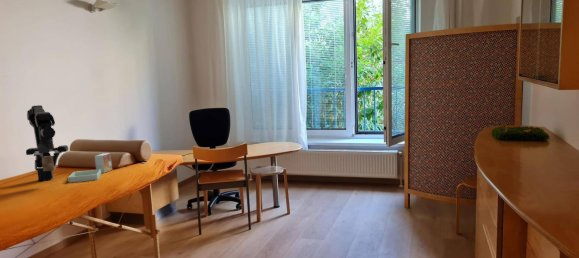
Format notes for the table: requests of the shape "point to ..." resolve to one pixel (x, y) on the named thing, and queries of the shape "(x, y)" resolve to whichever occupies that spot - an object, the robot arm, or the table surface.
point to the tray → (84, 175)
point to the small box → (103, 162)
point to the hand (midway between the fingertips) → (49, 166)
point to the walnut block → (48, 163)
